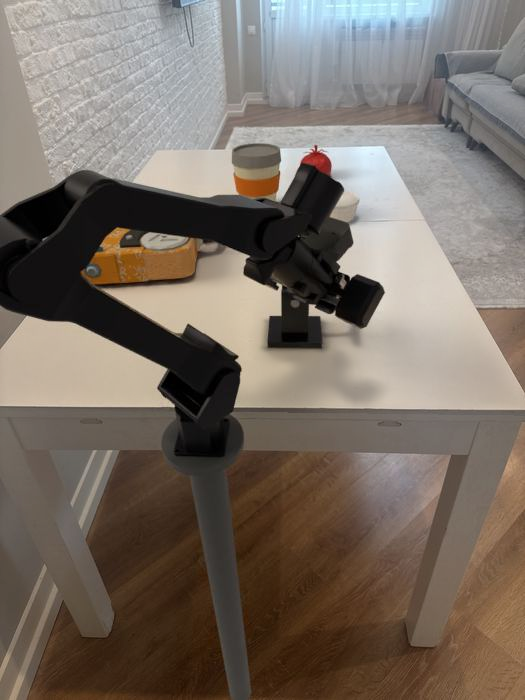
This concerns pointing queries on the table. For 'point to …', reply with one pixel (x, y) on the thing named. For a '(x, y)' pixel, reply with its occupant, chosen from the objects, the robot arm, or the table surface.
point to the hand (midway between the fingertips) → (338, 303)
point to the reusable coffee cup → (257, 170)
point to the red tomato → (318, 160)
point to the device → (142, 257)
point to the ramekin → (345, 207)
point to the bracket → (294, 325)
